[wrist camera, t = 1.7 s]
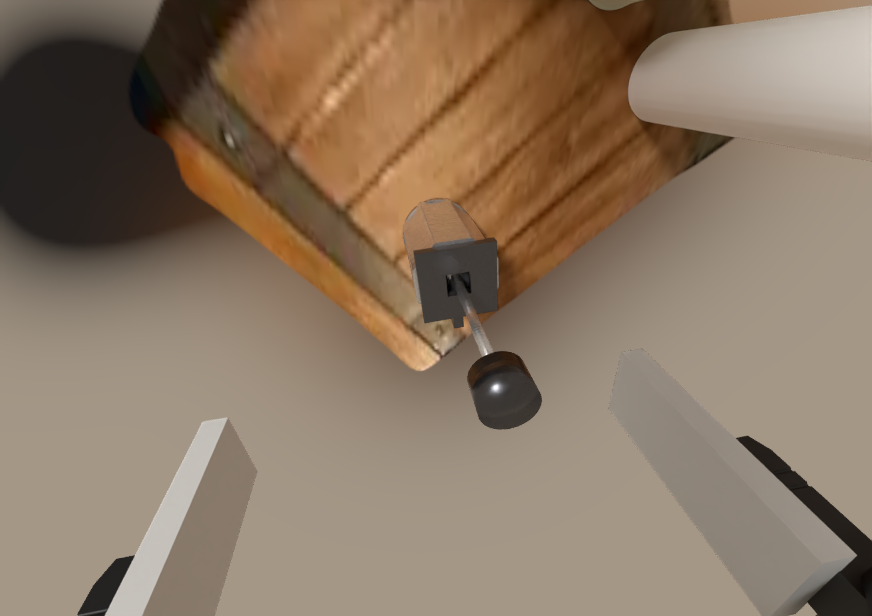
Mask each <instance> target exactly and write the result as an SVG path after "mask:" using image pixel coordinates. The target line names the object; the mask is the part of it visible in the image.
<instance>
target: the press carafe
mask: <svg viewBox="0 0 872 616" xmlns="http://www.w3.org/2000/svg"><path fill="white" fill-rule="evenodd" d="M403 239H404V243H405V246H406V249H407V254H408V259H409V264H410V268H411V273H412V278H413V283H414V288H415V293H416V298H417V301H418V303H420V304H421V305H422V312H423V318H424V323H429V322H435V321H440V320H446V319H451V320H452V323H453V326H454V328H460V327H464V323H463V316H466V314H465V312H464V309H463V307H462V304H461V302H460V299H459V297H458V294H457V291H450V292H447V284H446V275H452V274H458V273H464V272H468V275H469V288H468V289H466V290H467V292H468V295H469V297H470V299H471V301H472V304H473V306H474V308H475V310H476V313H477V314H480V313H486V312H492V311H497V310H498V288H499V282H498V256H497V241H496V239H495V238H488V239H485V238H484V236H483V235H482V233H481V232H480V230H479V229H478V227H477V226H476V225H475V223H474V222H473V220H472V219H471V217H470V216H469V214H467V213H466V212H465V211H464V209H463V208H462V207H461V206H460V205H458V204H457V203H455V202H453V201H451V200H450V199H448V198H445V199H442V198H436V199H430V200H427V201H424V202H420V203H419V204H418V205H417V206H416V207H415V208H414V209H413V210H412V211H411V212H410V213H409V215H408V216H407V218H406V221H405V222H404V224H403Z"/></svg>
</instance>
